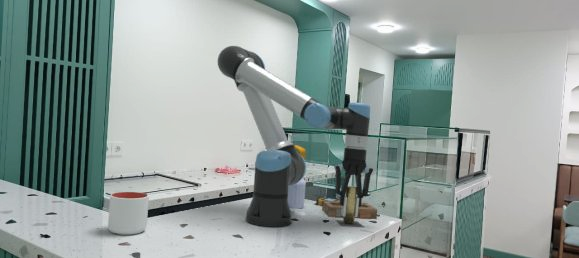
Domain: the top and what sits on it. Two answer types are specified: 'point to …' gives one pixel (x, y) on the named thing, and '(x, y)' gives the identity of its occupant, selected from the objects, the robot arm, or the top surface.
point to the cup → (128, 212)
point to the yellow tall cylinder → (350, 204)
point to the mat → (349, 224)
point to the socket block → (335, 209)
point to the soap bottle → (297, 188)
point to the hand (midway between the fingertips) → (349, 215)
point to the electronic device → (320, 200)
